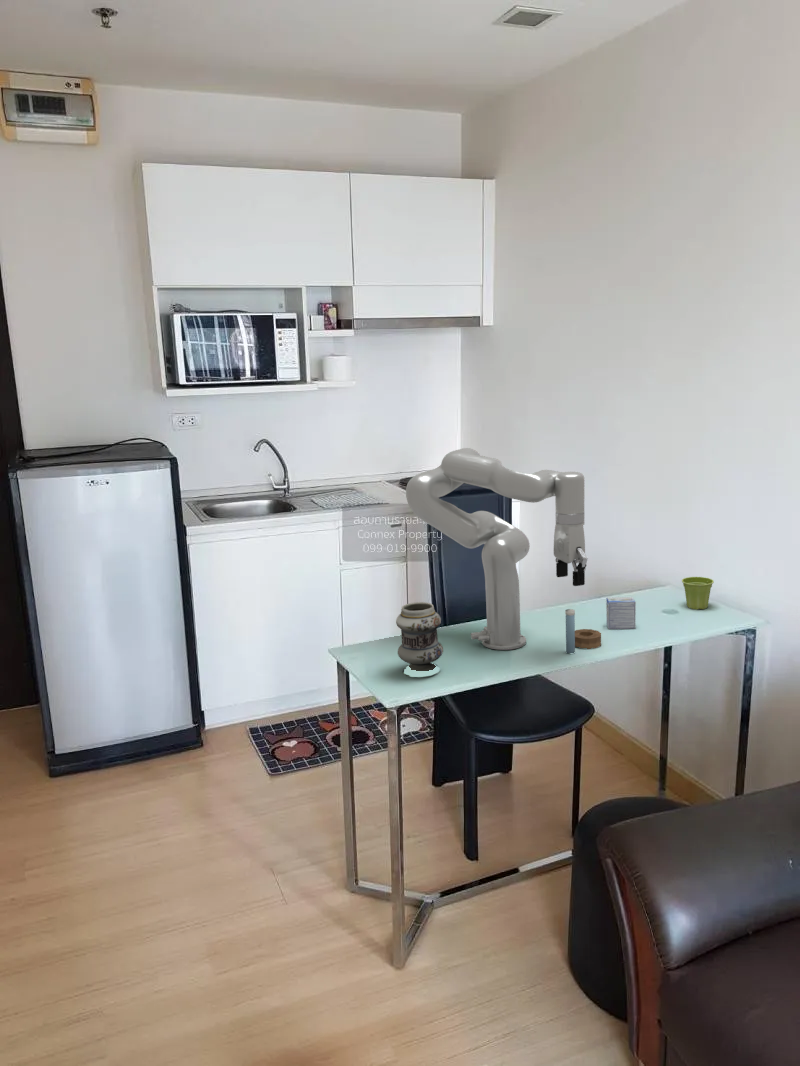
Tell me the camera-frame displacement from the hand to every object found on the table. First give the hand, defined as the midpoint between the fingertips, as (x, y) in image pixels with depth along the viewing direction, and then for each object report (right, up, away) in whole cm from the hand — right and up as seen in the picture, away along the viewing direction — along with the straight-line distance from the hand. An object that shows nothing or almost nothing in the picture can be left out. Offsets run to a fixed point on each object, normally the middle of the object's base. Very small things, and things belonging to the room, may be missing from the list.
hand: (570, 580), depth 219 cm
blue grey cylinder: (+1, -20, +4) cm, 20 cm away
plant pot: (+48, -11, +37) cm, 62 cm away
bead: (+7, -18, +10) cm, 22 cm away
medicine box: (+20, -15, +22) cm, 34 cm away
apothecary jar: (-40, -24, -4) cm, 47 cm away
